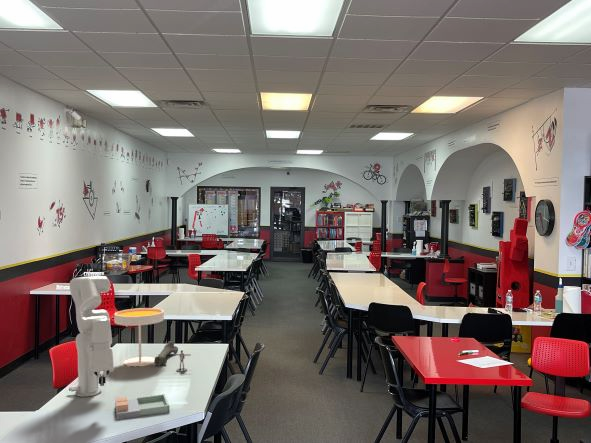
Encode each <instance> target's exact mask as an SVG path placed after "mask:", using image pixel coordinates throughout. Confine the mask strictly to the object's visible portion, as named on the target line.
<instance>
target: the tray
mask: <svg viewBox="0 0 591 443" xmlns="http://www.w3.org/2000/svg"><path fill="white" fill-rule="evenodd" d="M136 399H137V400H138V404H139V408H140V416H139V417H144V416H149V415H156V414H158V415H159V414H165V413H170V404H169V402H168V398H167V397H166V394H165V393H163V394H156V395H155V394H154V395H148V396H141V397H140V396H139V397H137V398H136Z"/></svg>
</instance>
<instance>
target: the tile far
mask: <svg viewBox="0 0 591 443" xmlns="http://www.w3.org/2000/svg"><path fill="white" fill-rule="evenodd" d="M127 400H128V397H127V396H122V397H116V398H115V402H123V401H127Z"/></svg>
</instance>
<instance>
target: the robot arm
mask: <svg viewBox="0 0 591 443" xmlns="http://www.w3.org/2000/svg"><path fill="white" fill-rule="evenodd" d="M110 289H111V281H110V279H109V278H108V277H107V276H106V275H105V276H104V275H93V276H91V275H90V276H80V277H74V278H73V279H71V280H70V281H69V291H70V292H69V293H70V295H71V297H72V300H73V302H74V306H75V314H76V316H75V317H76V318H75V319H76V324H77V328H78V331H79V333H78V334H77V335H76V337H75V346H76V350H77V373H78V375H77V376H78V378H77V379H78V380H77V381H78V383H77V385H75V386H68V391H69V392H74V393H75V396H76V397H84V398H86V397H87V398H88V397H93V396H97V395H99V394H100V393H102V388H101V387H105V384H107V383H106V381H107V380H106V377H107V375H109V373H113V372H115V368H114V352H113V348H112V347H111V346H112V343H113V337H112V336H113V335H112V329H111V328H112V327H111V319H110V314H109V312H108V310H105V309H97V308H98V307H99V306H101V304H102V297H101V294H104V293H108V292H109V291H110ZM101 372H103V374H101ZM99 385H100V387H99Z"/></svg>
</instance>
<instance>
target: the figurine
mask: <svg viewBox="0 0 591 443" xmlns="http://www.w3.org/2000/svg"><path fill="white" fill-rule="evenodd" d="M172 355H173V356H178V357H179V360H180V361H179V368H177V369H176V371H175V372H176V373H186V372H188V369H187V368H185V364H184V363H185V362H184V360H185V357H186V356H188V357H189V356H191V353H189V354H187V353H184V350H182V349H181V350H180V353H177V354H174V353H172Z"/></svg>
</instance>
